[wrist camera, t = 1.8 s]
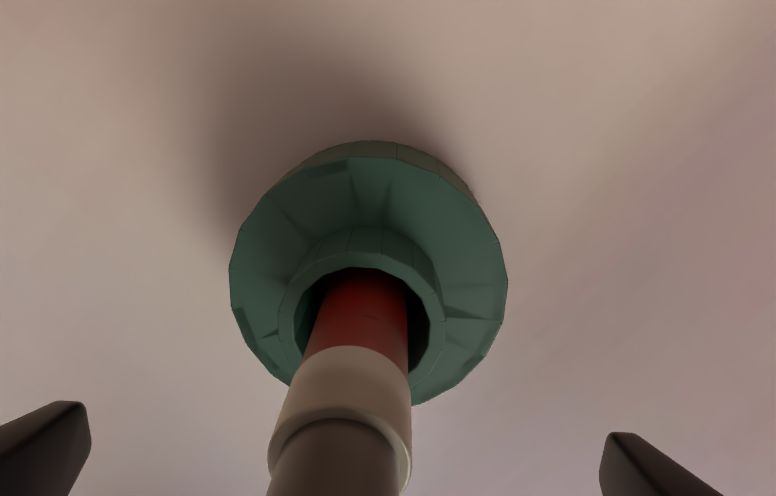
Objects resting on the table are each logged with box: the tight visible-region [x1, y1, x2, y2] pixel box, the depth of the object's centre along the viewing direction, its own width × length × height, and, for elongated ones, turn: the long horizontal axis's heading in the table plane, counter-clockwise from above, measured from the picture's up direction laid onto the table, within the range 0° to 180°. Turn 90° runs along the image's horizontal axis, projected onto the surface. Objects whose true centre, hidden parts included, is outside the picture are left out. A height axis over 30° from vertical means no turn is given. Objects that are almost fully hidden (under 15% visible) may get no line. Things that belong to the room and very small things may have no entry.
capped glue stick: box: [266, 267, 412, 496], centre depth 12 cm, size 2×2×11 cm
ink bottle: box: [229, 141, 508, 406], centre depth 15 cm, size 8×8×5 cm
